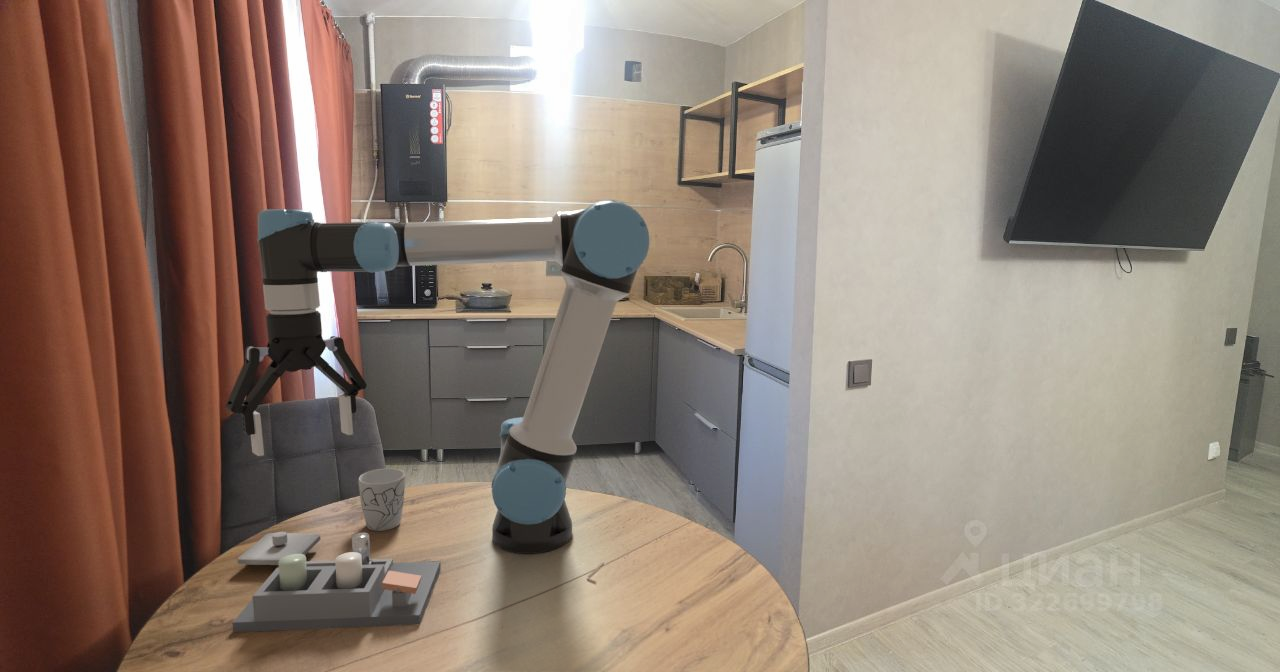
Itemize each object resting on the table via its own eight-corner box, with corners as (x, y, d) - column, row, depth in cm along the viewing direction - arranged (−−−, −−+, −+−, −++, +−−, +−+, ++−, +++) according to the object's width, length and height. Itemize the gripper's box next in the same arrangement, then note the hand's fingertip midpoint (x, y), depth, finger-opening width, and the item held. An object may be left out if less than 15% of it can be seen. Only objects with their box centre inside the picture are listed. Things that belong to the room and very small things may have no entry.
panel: (440, 569, 112) (439, 539, 112) (419, 624, 97) (418, 589, 96) (281, 574, 110) (279, 543, 109) (233, 632, 94) (230, 596, 93)
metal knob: (373, 567, 109) (371, 532, 108) (368, 575, 107) (366, 539, 106) (355, 567, 109) (354, 532, 108) (350, 576, 106) (348, 540, 105)
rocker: (420, 582, 102) (421, 575, 102) (414, 596, 98) (416, 588, 98) (387, 577, 101) (388, 570, 101) (380, 591, 97) (382, 583, 97)
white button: (365, 576, 101) (364, 551, 100) (358, 588, 97) (357, 563, 97) (341, 576, 100) (340, 552, 100) (333, 589, 97) (331, 564, 96)
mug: (382, 507, 137) (381, 461, 135) (421, 510, 136) (419, 464, 134) (351, 532, 126) (349, 482, 124) (393, 535, 124) (391, 485, 123)
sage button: (311, 577, 100) (309, 553, 99) (301, 590, 96) (300, 565, 96) (286, 578, 99) (284, 554, 99) (276, 591, 96) (274, 566, 95)
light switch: (295, 576, 110) (293, 547, 109) (236, 575, 109) (234, 546, 109) (322, 547, 119) (321, 521, 118) (268, 546, 119) (266, 520, 118)
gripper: (361, 302, 113) (369, 421, 116) (191, 316, 94) (207, 457, 98) (382, 305, 108) (390, 429, 111) (207, 321, 89) (223, 469, 93)
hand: (304, 443), depth 105 cm, fingers open, 13 cm apart
